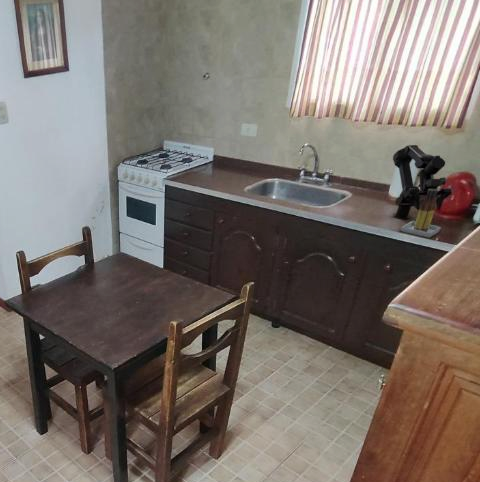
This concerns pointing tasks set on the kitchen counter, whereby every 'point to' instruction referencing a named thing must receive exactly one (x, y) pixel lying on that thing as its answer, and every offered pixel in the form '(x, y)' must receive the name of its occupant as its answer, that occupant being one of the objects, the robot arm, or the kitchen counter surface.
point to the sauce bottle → (426, 211)
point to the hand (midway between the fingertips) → (428, 209)
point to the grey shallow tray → (410, 229)
